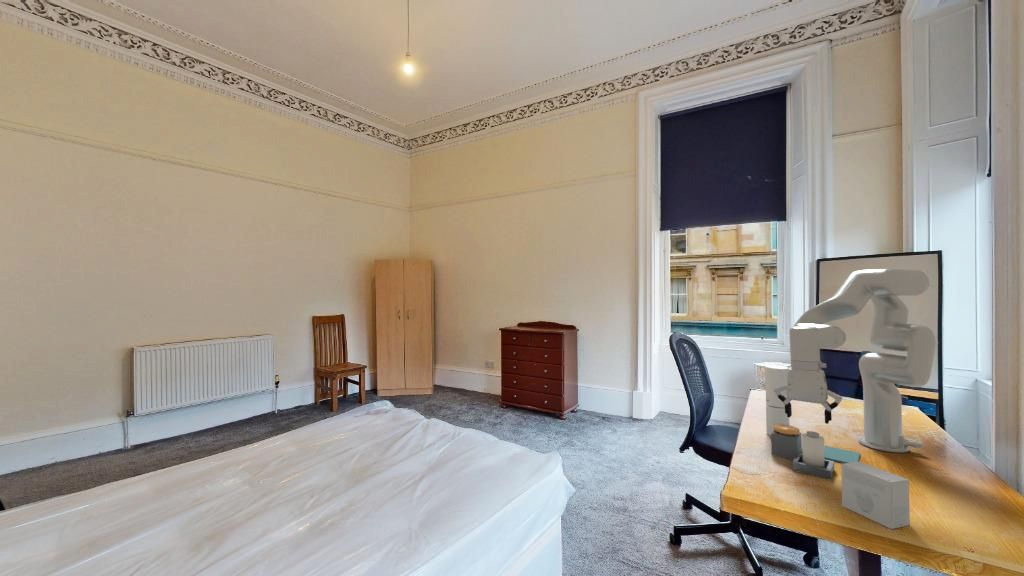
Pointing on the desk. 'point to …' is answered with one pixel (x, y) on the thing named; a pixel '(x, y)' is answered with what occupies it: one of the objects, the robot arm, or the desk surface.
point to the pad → (840, 455)
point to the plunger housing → (786, 445)
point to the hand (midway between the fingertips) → (807, 419)
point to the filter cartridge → (813, 449)
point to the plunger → (786, 429)
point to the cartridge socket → (813, 468)
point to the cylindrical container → (775, 396)
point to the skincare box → (876, 494)
